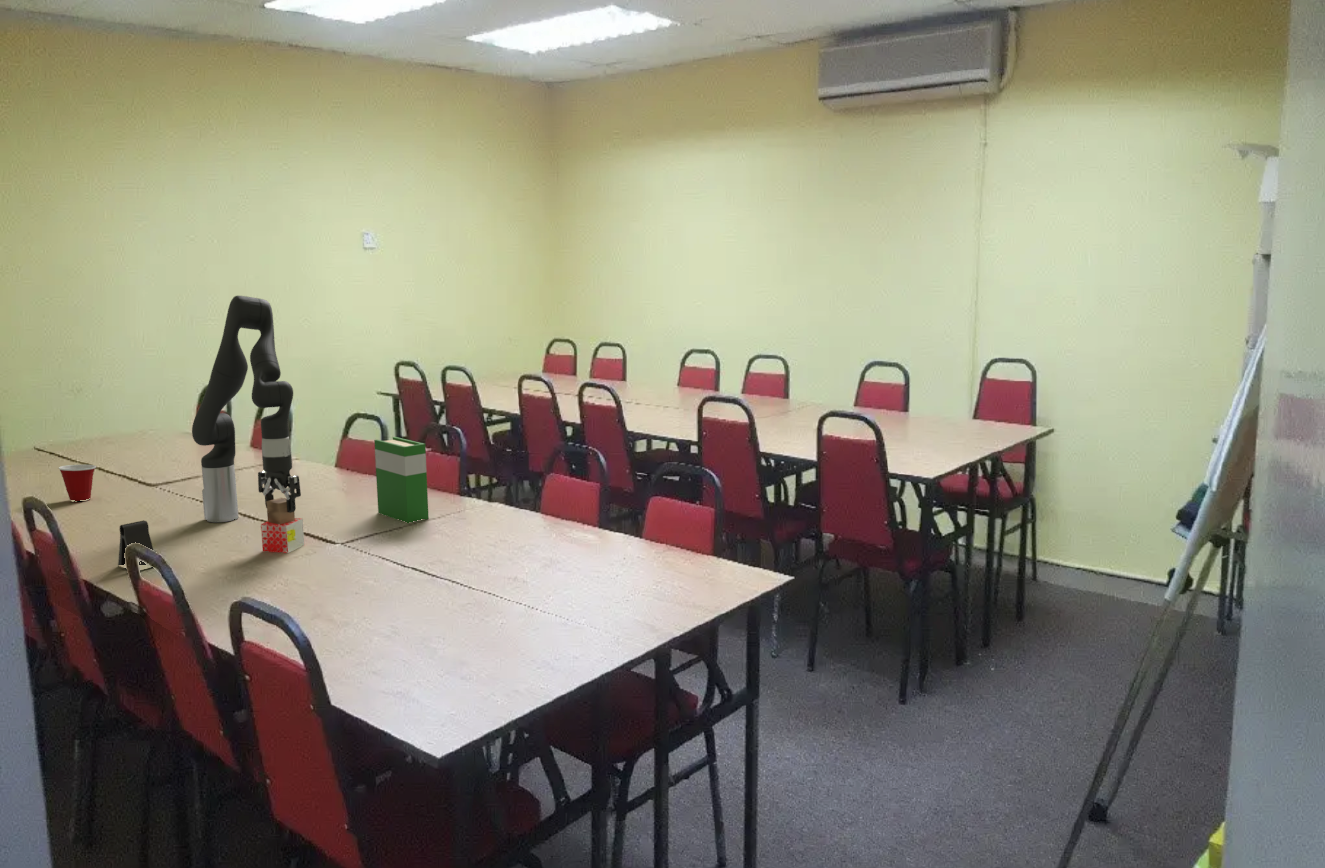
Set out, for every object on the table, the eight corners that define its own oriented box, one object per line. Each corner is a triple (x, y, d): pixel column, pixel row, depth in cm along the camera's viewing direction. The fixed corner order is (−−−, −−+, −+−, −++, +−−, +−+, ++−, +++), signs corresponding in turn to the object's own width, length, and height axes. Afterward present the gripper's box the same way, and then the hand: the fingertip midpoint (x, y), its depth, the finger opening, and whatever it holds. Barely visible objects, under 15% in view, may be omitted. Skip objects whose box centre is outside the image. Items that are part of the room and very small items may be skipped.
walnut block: (267, 522, 263) (266, 501, 262) (282, 518, 267) (281, 497, 266) (280, 524, 260) (278, 503, 259) (294, 520, 265) (293, 499, 264)
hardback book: (378, 513, 303) (374, 439, 298) (398, 508, 308) (395, 436, 304) (407, 523, 291) (404, 447, 286) (428, 518, 296) (425, 443, 292)
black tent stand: (157, 567, 248) (153, 523, 246) (133, 573, 243) (129, 528, 241) (141, 560, 254) (137, 517, 251) (118, 566, 249) (113, 522, 247)
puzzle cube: (288, 553, 261) (286, 525, 259) (262, 551, 262) (260, 524, 261) (304, 545, 268) (302, 518, 267) (279, 543, 270) (277, 516, 268)
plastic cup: (106, 499, 320) (102, 464, 318) (72, 505, 311) (68, 470, 309) (89, 495, 326) (85, 461, 324) (56, 501, 317) (52, 466, 315)
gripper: (247, 453, 260) (252, 509, 263) (283, 458, 254) (287, 516, 257) (270, 448, 267) (274, 504, 270) (305, 453, 260) (309, 510, 263)
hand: (280, 510), depth 263 cm, fingers open, 8 cm apart
